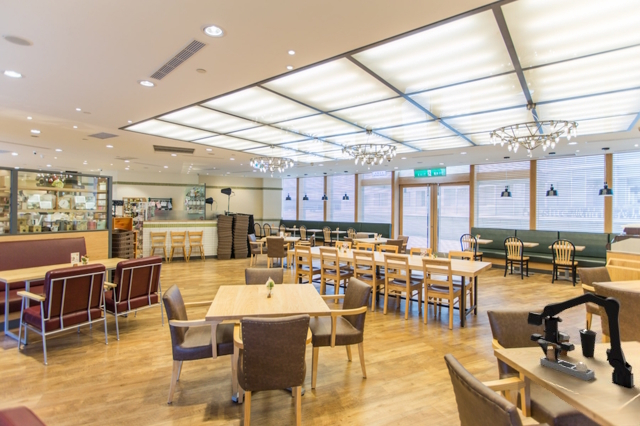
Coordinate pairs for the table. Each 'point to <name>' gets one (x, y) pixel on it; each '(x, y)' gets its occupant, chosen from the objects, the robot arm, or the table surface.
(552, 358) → the brown egg
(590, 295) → the robot arm
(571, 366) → the egg tray
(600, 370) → the table surface
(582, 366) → the cream egg
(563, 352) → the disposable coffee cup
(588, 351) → the drinking cup
